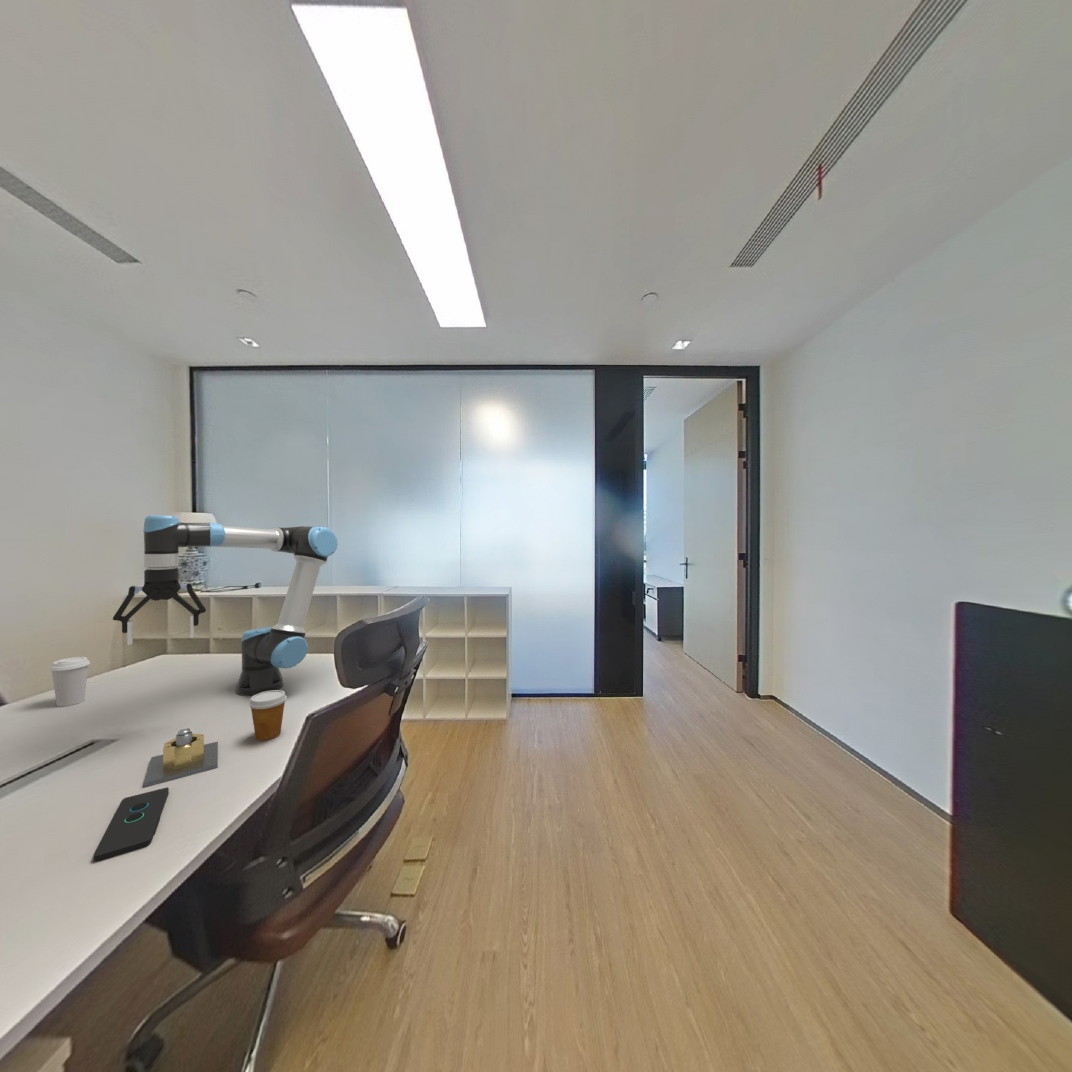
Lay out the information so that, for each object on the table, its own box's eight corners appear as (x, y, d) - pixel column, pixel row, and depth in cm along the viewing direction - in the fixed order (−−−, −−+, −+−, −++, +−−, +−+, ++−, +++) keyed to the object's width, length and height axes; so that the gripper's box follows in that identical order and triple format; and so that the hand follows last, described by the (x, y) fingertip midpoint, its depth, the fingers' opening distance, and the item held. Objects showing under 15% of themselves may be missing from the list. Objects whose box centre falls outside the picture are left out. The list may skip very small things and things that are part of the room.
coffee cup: (44, 705, 144) (43, 662, 143) (82, 695, 153) (82, 654, 152) (58, 710, 140) (57, 666, 140) (96, 700, 149) (96, 658, 149)
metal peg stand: (217, 744, 119) (217, 714, 119) (217, 767, 108) (217, 733, 108) (151, 760, 111) (151, 728, 111) (143, 787, 100) (143, 750, 100)
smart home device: (170, 785, 98) (151, 838, 82) (170, 793, 99) (151, 847, 82) (121, 797, 94) (90, 856, 77) (121, 805, 94) (91, 866, 77)
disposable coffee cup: (294, 731, 128) (294, 692, 128) (264, 746, 119) (264, 704, 119) (271, 725, 131) (271, 687, 131) (241, 740, 122) (240, 699, 122)
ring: (204, 749, 115) (204, 731, 115) (203, 762, 109) (203, 743, 109) (165, 758, 110) (165, 739, 110) (162, 772, 104) (162, 752, 104)
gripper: (215, 565, 133) (215, 631, 133) (104, 569, 118) (104, 644, 118) (215, 567, 127) (215, 636, 127) (97, 571, 112) (98, 650, 112)
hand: (162, 640), depth 123 cm, fingers open, 13 cm apart
